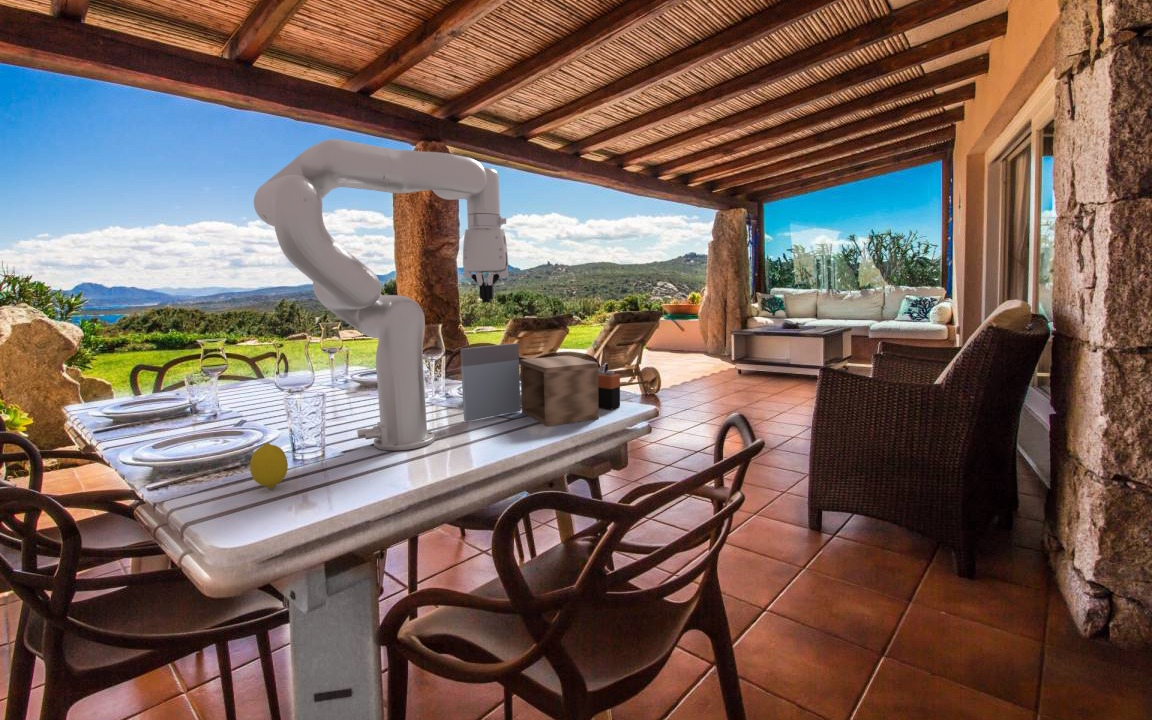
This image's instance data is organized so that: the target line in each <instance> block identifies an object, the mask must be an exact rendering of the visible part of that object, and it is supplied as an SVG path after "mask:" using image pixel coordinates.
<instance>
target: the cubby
mask: <svg viewBox="0 0 1152 720" xmlns="http://www.w3.org/2000/svg"><path fill="white" fill-rule="evenodd" d="M519 369H520V399H521V413H522V414H523V415H526V416H528V417H530V418H531V419H533V420H535V421H536V422H538V423H540V424H542V425H544V426H546V427H552V426H553V427H554V426H559V425H565V424H572V423H579V422H578V421H580V422H586V421H585V420H587V421H592V419H593V420H598V419H599V411H600V410H599V409H600V408H599V407H598V370H599V363H598V362H596V361H591V360H587V359H584V358H580V357H575V356H572V355H561V356H560V355H558V356H548V357H547V356H546V357H537V358H525V359H519Z"/></svg>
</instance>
